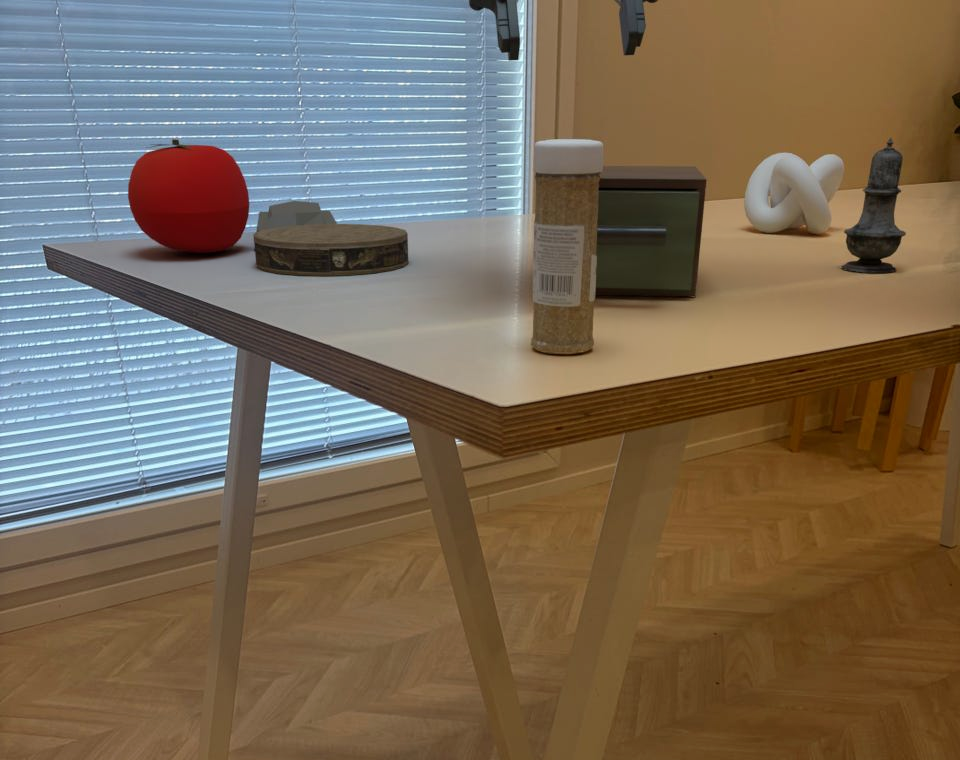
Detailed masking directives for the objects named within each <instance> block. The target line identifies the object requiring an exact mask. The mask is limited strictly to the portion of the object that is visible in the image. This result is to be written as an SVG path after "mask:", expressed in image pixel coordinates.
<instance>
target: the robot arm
mask: <svg viewBox="0 0 960 760" xmlns="http://www.w3.org/2000/svg"><path fill="white" fill-rule="evenodd" d="M519 1H520V0H468V5H469V8H470V9H471V10H473V11H475V12H478V11H482V10H484V9H487V10H490V11H491V12H492V13H493V14H494V17H495V26H496V27H495V28H496V38H497V48H498V50H499V51H500V53H501V54H504V53H507V60H508V61H509V62H510V61H511V62H512V61H519V58H520V48H521V34H520V25H519V14H518V13H519V12H518V2H519ZM613 1H614V2H615V3H616V4H617V5H618V6H619V9H618V10H619V11H618V18H619V27H620V37H621V44H622V53H623V56H634V55H635V52H636V49H637V47H638V48H639V47H641V45H642V41H643V39H644V35H645V30H646V27H647V24H646V16H645V8H644V6H645V5H644V3H645V2H647V3H649V4H655V3H657V2H659V0H613Z"/></svg>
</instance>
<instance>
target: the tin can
mask: <svg viewBox="0 0 960 760" xmlns="http://www.w3.org/2000/svg"><path fill="white" fill-rule="evenodd" d="M408 239H409V238H408V232H407V230H406V229H404V228H399V227H394V226H386V225H380V224H379V225H378V224H377V225H376V224H363V223H360V224H359V223H337V224H314V225H297V226H287V227H277V228H272V229H266V230H261V231H259V232H256V231H255V232H254V233H253V244H254V247H255V251H254V254H255V255H254V256H255V265H256V266H255V267H256V268H257V269H260V270H261V271H264V272H267V273H274V274H279V275H280V274H281V275H291V276H309V277H313V276H314V277H337V276H356V275H370V274H378V273H385V272H391V271H394V270H398V269H401V268H404V267H406V266H408V264H409V240H408Z"/></svg>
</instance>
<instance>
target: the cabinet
mask: <svg viewBox="0 0 960 760" xmlns="http://www.w3.org/2000/svg"><path fill="white" fill-rule="evenodd" d="M600 176H601V178H600V180H599V188H627V189H687V190H688V191H698V192H699V193H700V194H699V205H698V216H697V227H696V237H695V248H694V259H693V269H692V280H691V289H690V290H669V289H621V288H596V290H595V296H612V295H647V296H646V297H659V296H695V297H696V294H697V284H698V274H699V265H700V264H699V263H700V252H701V244H702V243H701V242H702V233H703V231H702V230H703V220H704V213H705V212H704V211H705V201H706V189H707V180H708V179H707V178H706V177H705V176H704V174H702V172H701V171H700V170H699V169H698V168H697V166H670V165H669V166H664V165H663V166H661V165H659V166H658V165H655V166H654V165H653V166H652V165H603V170H602V172H601V173H600Z"/></svg>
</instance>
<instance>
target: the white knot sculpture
mask: <svg viewBox="0 0 960 760" xmlns="http://www.w3.org/2000/svg"><path fill="white" fill-rule="evenodd" d="M844 173H845V164H844V162H843V159H842V158H841V157H840V156H838V155H836V154H832V153H830V154H829V153H828V154H824V155H822V156H820V157H819V158H817V159H816V160H814V161H813V162H812V163H811V164H810V165H809V164H808V163H807V162H806V161H805V160H804V159H803V158H801V157H800V156H798V155H797V154H794V153H791V152H777V153H774V154H771V155H770V156H768V157H766V158H764V159H763V160H762V161H761V162H760V163H759V164H758V165H757V167H756V168H755V169H754V171H753V172H752V173H751V176H750V178H749V179H748V183H747V186H746V189H745V192H744V200H743V201H744V202H743V204H744V206H743V207H744V212H745V217H746V219H747V220H748V222H749V224H751V226H752V227H754V229H755V230H756V231H759V232H761V233H764V234H774V233H777V232H782V231H783V230H787V229H791V230H794V229H799V228H801V227H803V226H805V228H806V230H807V231H808V232H810V233H811V234H813V235H821V234H825V233H826V232H827V231H828V230H829V228H830V227H831V224H832V219H833V218H832V216H833V215H832V212H831V209H830V205H829V203H830V202H831V201H832V200H833V198H834V197H835V195H836V193H837V192H838V190H839V188H840V187H841V184H842V181H843V178H844ZM769 202H770V203H769Z"/></svg>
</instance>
